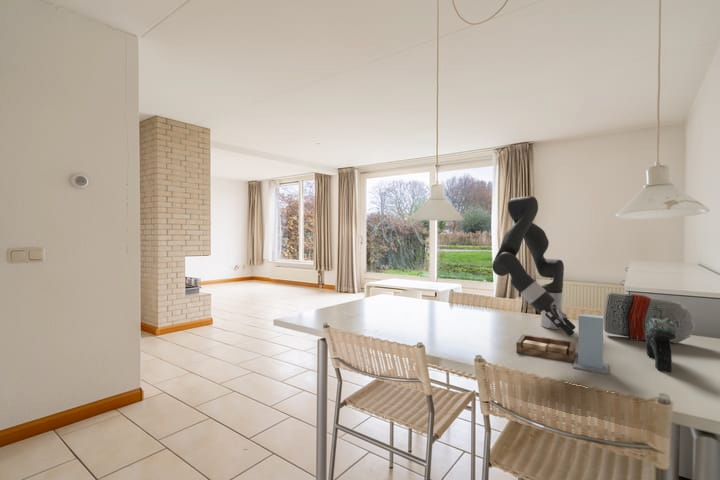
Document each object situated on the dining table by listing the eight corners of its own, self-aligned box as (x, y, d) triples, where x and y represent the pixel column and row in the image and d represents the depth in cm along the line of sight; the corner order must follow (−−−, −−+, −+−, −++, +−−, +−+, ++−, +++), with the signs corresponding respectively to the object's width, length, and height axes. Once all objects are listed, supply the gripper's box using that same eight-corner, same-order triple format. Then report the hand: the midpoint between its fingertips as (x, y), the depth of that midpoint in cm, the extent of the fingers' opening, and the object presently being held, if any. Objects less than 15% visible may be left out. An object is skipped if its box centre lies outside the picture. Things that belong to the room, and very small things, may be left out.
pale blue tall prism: (578, 364, 123) (578, 315, 123) (578, 361, 126) (579, 313, 126) (602, 368, 119) (603, 318, 119) (602, 365, 122) (602, 316, 122)
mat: (574, 359, 129) (574, 357, 129) (608, 364, 124) (608, 363, 124) (573, 368, 121) (573, 366, 121) (608, 374, 116) (608, 372, 116)
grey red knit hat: (608, 292, 155) (699, 304, 141) (606, 290, 161) (693, 301, 147) (603, 335, 156) (692, 351, 142) (601, 331, 162) (687, 346, 148)
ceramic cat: (676, 375, 115) (677, 313, 115) (651, 371, 118) (652, 311, 118) (661, 356, 132) (661, 302, 132) (639, 353, 135) (640, 301, 135)
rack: (516, 352, 137) (516, 342, 137) (522, 343, 148) (522, 334, 148) (573, 362, 127) (573, 351, 127) (575, 352, 137) (575, 341, 137)
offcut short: (547, 356, 133) (547, 346, 133) (550, 353, 136) (550, 343, 136) (566, 360, 129) (566, 349, 129) (567, 357, 132) (568, 346, 132)
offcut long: (522, 352, 138) (522, 342, 138) (525, 349, 141) (525, 339, 141) (545, 357, 133) (545, 346, 133) (547, 354, 136) (547, 343, 136)
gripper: (543, 292, 124) (581, 330, 118) (547, 287, 136) (582, 321, 130) (526, 306, 127) (562, 343, 121) (532, 299, 139) (565, 333, 133)
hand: (572, 331), depth 125 cm, fingers open, 8 cm apart
